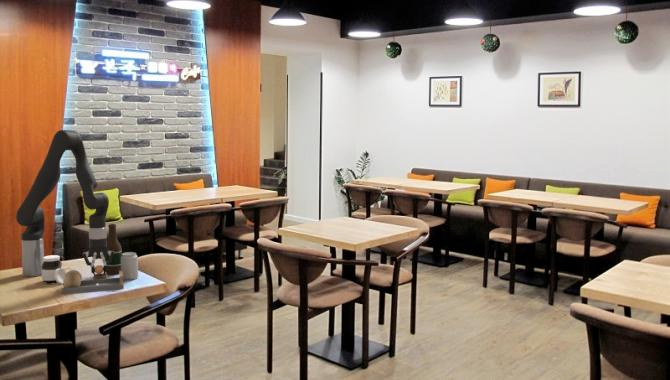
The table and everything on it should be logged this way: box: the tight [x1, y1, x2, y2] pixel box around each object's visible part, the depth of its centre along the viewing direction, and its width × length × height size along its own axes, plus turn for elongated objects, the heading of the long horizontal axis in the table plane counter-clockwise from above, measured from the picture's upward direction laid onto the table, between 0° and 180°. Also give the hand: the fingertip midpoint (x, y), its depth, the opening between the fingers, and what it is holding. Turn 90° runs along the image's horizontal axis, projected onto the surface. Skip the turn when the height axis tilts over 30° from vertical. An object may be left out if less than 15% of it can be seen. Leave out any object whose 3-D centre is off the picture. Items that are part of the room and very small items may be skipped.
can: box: [121, 251, 139, 281], centre depth 292 cm, size 8×8×12 cm
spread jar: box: [41, 254, 68, 285], centre depth 285 cm, size 12×11×12 cm
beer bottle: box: [105, 223, 123, 276], centre depth 300 cm, size 8×8×24 cm
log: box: [62, 269, 82, 288], centre depth 274 cm, size 7×8×7 cm
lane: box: [61, 277, 121, 295], centre depth 277 cm, size 23×11×2 cm, turn 109°
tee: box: [92, 272, 108, 280], centre depth 286 cm, size 6×6×3 cm
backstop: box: [118, 270, 125, 290], centre depth 280 cm, size 2×11×6 cm, turn 19°
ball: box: [95, 264, 104, 274], centre depth 286 cm, size 4×4×4 cm
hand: (99, 273), depth 286 cm, fingers closed on ball, 4 cm apart
